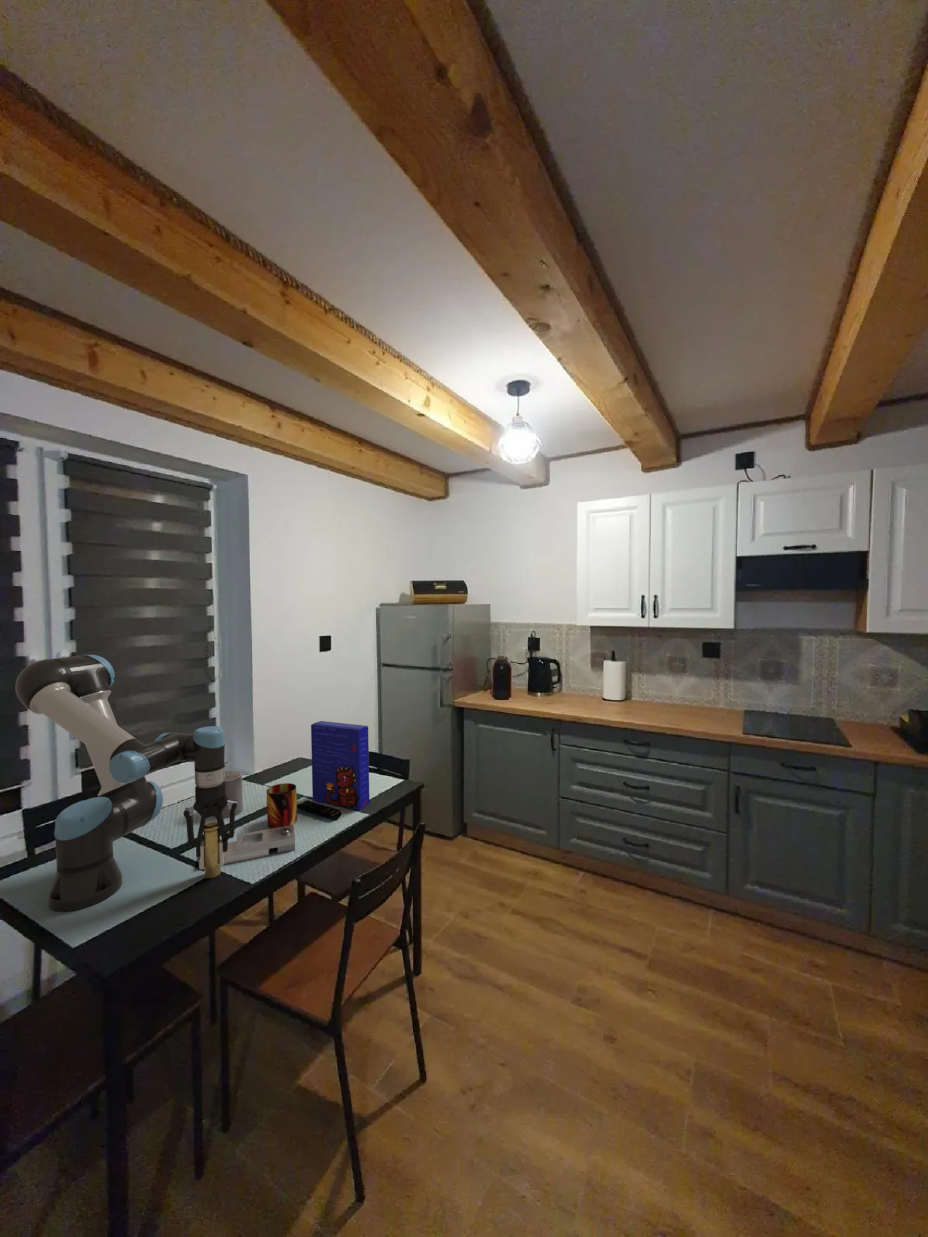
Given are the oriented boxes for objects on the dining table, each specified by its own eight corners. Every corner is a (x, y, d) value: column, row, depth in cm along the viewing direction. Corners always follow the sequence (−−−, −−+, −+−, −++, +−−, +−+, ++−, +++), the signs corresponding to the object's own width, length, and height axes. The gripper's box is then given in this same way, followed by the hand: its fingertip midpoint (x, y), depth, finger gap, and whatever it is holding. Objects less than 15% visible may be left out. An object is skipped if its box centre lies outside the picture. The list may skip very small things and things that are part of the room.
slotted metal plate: (199, 869, 135) (198, 853, 134) (203, 854, 143) (202, 839, 143) (295, 850, 145) (294, 835, 144) (293, 836, 153) (293, 822, 153)
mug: (285, 835, 154) (284, 799, 154) (261, 824, 162) (260, 790, 161) (310, 823, 162) (309, 789, 161) (286, 813, 170) (285, 781, 169)
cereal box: (369, 803, 177) (368, 725, 176) (360, 810, 172) (358, 729, 171) (322, 795, 186) (321, 720, 185) (312, 801, 180) (310, 724, 179)
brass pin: (202, 880, 129) (201, 830, 128) (204, 871, 133) (203, 823, 133) (221, 876, 131) (219, 827, 130) (222, 868, 135) (221, 820, 135)
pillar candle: (210, 812, 172) (208, 772, 171) (238, 804, 178) (237, 765, 177) (217, 821, 164) (216, 779, 164) (246, 813, 171) (245, 772, 170)
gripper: (172, 793, 124) (175, 879, 125) (243, 783, 131) (245, 865, 132) (177, 783, 131) (179, 864, 132) (244, 774, 138) (246, 852, 139)
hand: (212, 864), depth 132 cm, fingers closed on brass pin, 4 cm apart
